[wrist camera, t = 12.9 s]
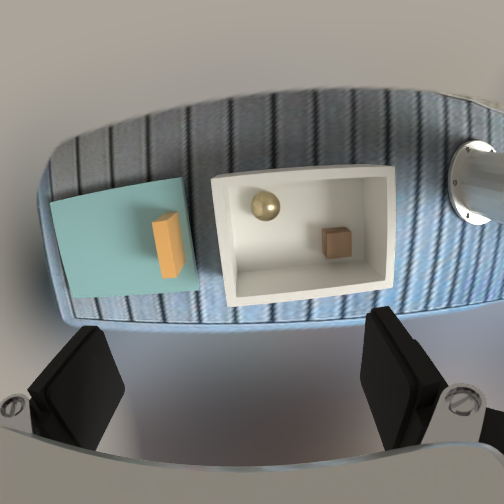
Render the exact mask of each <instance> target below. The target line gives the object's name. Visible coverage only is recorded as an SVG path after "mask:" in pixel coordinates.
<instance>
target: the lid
mask: <svg viewBox="0 0 504 504" xmlns="http://www.w3.org/2000/svg"><path fill="white" fill-rule="evenodd" d="M50 206H51V212H52V217H53V222H54V227H55V232H56V236H57V241H58V245H59V249H60V254H61V258H62V262H63V265H64V269H65V273H66V276H67V280H68V283H69V287H70V290H71V293H72V297H73V298H90V297H109V296H125V295H141V294H156V293H169V292H183V291H195V290H199V287H200V285H199V279H198V273H197V267H196V261H195V255H194V249H193V242H192V236H191V229H190V222H189V215H188V208H187V201H186V194H185V186H184V178H183V177H178V178H171V179H164V180H158V181H152V182H146V183H140V184H135V185H129V186H124V187H118V188H113V189H108V190H103V191H98V192H93V193H89V194H84V195H79V196H75V197H70V198H66V199H62V200H58V201H54V202H50Z"/></svg>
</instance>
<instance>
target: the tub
mask: <svg viewBox="0 0 504 504" xmlns="http://www.w3.org/2000/svg"><path fill="white" fill-rule="evenodd" d="M211 187H212V195H213V203H214V211H215V219H216V227H217V235H218V242H219V250H220V257H221V264H222V271H223V278H224V285H225V292H226V299H227V306H228V307H235V306H247V305H257V304H267V303H277V302H287V301H296V300H304V299H313V298H321V297H329V296H337V295H345V294H352V293H359V292H366V291H373V290H380V289H387V288H393V277H394V261H395V238H396V184H395V167H394V166H385V165H374V164H343V165H322V166H305V167H291V168H278V169H266V170H255V171H245V172H236V173H227V174H219V175H217V176H215V177H213V178H211ZM261 191H269V192H272V193H273V194H274V195H275V196H276V197H277V198H278V200H279V202H280V212H279V214H278V215H277V217H276V218H274V219H273V220H270V221H261V220H259V219H257V218H256V217H255V216H254V215H253V213H252V210H251V201H252V199H253V197H254V196H255V195H256V194H257V193H259V192H261ZM336 227H346V228H347V229H349V230H350V231H351V232H352V257H343V258H334V259H327V258H326V257H325V255H324V254H323V253H322V229H325V228H336Z"/></svg>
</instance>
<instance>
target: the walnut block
mask: <svg viewBox="0 0 504 504" xmlns="http://www.w3.org/2000/svg"><path fill="white" fill-rule="evenodd" d="M322 253H323V254H324V255H325V257H326V258H327V259H334V258H343V257H352V232H351V231H350V230H349V229H347V228H346V227H336V228H325V229H322Z"/></svg>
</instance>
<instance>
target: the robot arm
mask: <svg viewBox="0 0 504 504" xmlns="http://www.w3.org/2000/svg"><path fill="white" fill-rule="evenodd" d="M448 193H449V197H450V201H451V204H452V206H453V208H454V210H455V212H456V213H457V215H458V216H459V217H460V218H461V219H463V220H464V221H466V222H468V223H470V224H474V225H482V224H485V223H487V222H488V221H490V220H492V221H495V222H498V223H500V224H503V225H504V153H501V152H496V151H495V150H494V148H492V147H491V146H490V145H489V144H487V143H486V142H483V141H480V140H472V141H467V142H465V143H463V144H462V145H461V146H460V147H459V148H458V149H457V150H456V152H455V153H454V155H453V157H452V159H451V162H450V166H449V171H448ZM360 381H361V385H362V388H363V390H364V393H365V395H366V398H367V401H368V404H369V406H370V409H371V412H372V415H373V418H374V420H375V423H376V426H377V429H378V432H379V435H380V438H381V440H382V443H383V446H384V449H385V451H383V452H377V453H372V454H368V455H362V456H357V457H350V458H344V459H337V460H330V461H322V462H314V463H304V464H295V465H280V466H260V467H215V466H195V465H194V466H193V465H181V464H171V463H162V462H154V461H146V460H139V459H133V458H127V457H121V456H116V455H110V454H106V453H101V452H97V451H96V449H97V446H98V444H99V442H100V440H101V438H102V436H103V434H104V432H105V430H106V428H107V426H108V424H109V422H110V420H111V418H112V416H113V414H114V412H115V410H116V408H117V406H118V404H119V402H120V400H121V398H122V396H123V395H124V392H125V386H124V383H123V381H122V378H121V376H120V374H119V371H118V369H117V366H116V364H115V361H114V359H113V356H112V354H111V351H110V348H109V346H108V343H107V341H106V338H105V335H104V332H103V331H102V330H100V329H99V327H97V326H83V327H81V328H80V330H79V331H78V332H77V333H76V334H75V335H74V336H73V337H72V338H71V339H70V341H69V342H68V343H67V344H66V345H65V346H64V347H63V348H62V350H61V351H60V352H59V353H58V354H57V355H56V356H55V357H54V359H53V360H52V361H51V362H50V363H49V364H48V366H47V367H46V368H45V369H44V370H43V372H42V373H41V374H40V375H39V376H38V377H37V379H36V380H35V381H34V382H33V383H32V385H31V386H30V387H29V388H28V389H27V390H28V392H29V393H30V395H31V397H32V398H31V399H30V400H29V399H28V397H27V396H26V395H23V394H14V395H11V396H8V397H7V398H5V399H4V400H3V401H2V402H1V403H0V504H504V412H502V411H498V410H494V409H490V408H487V407H486V398H485V396H484V394H483V393H482V392H481V391H480V389H478V388H477V387H475V386H473V385H470V384H464V383H459V384H453V385H451V386H448V384H447V383H446V381H445V380H444V378H443V377H442V376H441V374H440V372H439V371H438V370H437V368H436V367H435V365H434V364H433V362H432V361H431V359H430V358H429V357H428V355H427V354H426V352H425V351H424V350H423V348H422V347H421V345H420V344H419V343H418V342H417V341H416V340H414V339H412V337H411V336H410V334H409V333H408V332H407V330H406V329H405V327H404V326H403V325H402V323H401V322H400V321H399V319H398V318H397V316H396V315H395V314H394V312H393V311H392V310H391V308H390V307H389V306H385V307H378V308H373V309H372V310H371V313H367V315H366V322H365V334H364V345H363V354H362V363H361V372H360Z"/></svg>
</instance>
